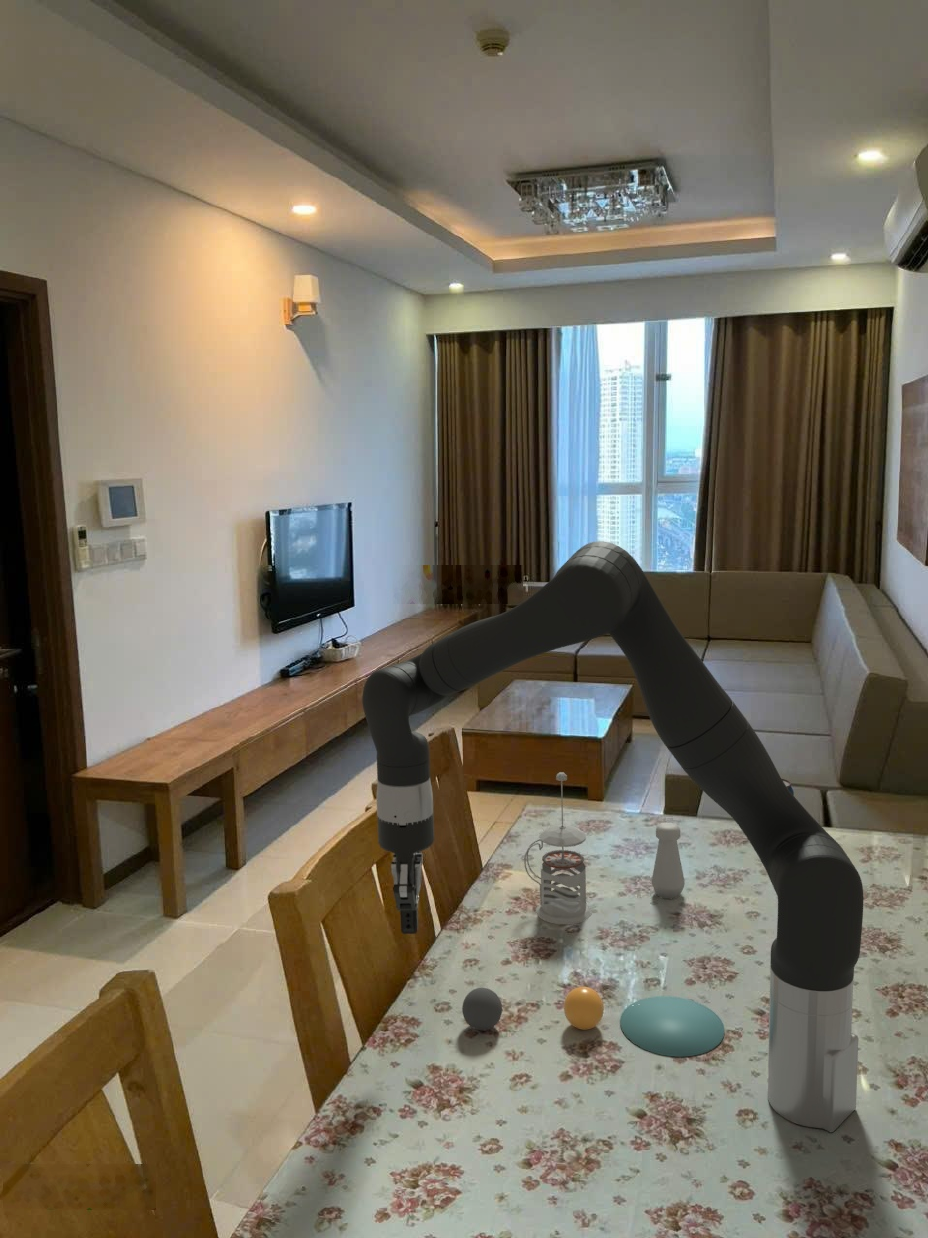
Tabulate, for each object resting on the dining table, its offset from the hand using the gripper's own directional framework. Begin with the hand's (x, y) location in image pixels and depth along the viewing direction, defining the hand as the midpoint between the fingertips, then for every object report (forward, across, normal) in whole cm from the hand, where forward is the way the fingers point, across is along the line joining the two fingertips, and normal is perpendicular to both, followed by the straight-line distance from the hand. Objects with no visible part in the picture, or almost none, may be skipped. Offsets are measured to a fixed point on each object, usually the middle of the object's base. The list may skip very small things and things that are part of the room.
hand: (409, 931), depth 132 cm
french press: (+14, -35, +22) cm, 44 cm away
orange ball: (+12, 0, +24) cm, 26 cm away
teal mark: (+14, 0, +36) cm, 38 cm away
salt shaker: (+14, -40, +42) cm, 60 cm away
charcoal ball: (+12, 0, +10) cm, 15 cm away
